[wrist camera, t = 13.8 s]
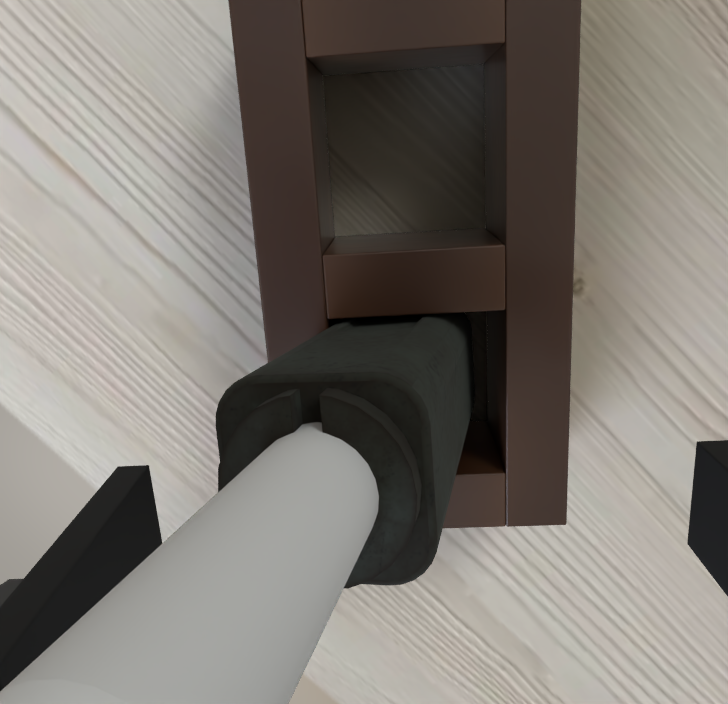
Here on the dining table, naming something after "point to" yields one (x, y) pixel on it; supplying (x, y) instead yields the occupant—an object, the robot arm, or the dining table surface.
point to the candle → (283, 522)
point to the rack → (431, 248)
